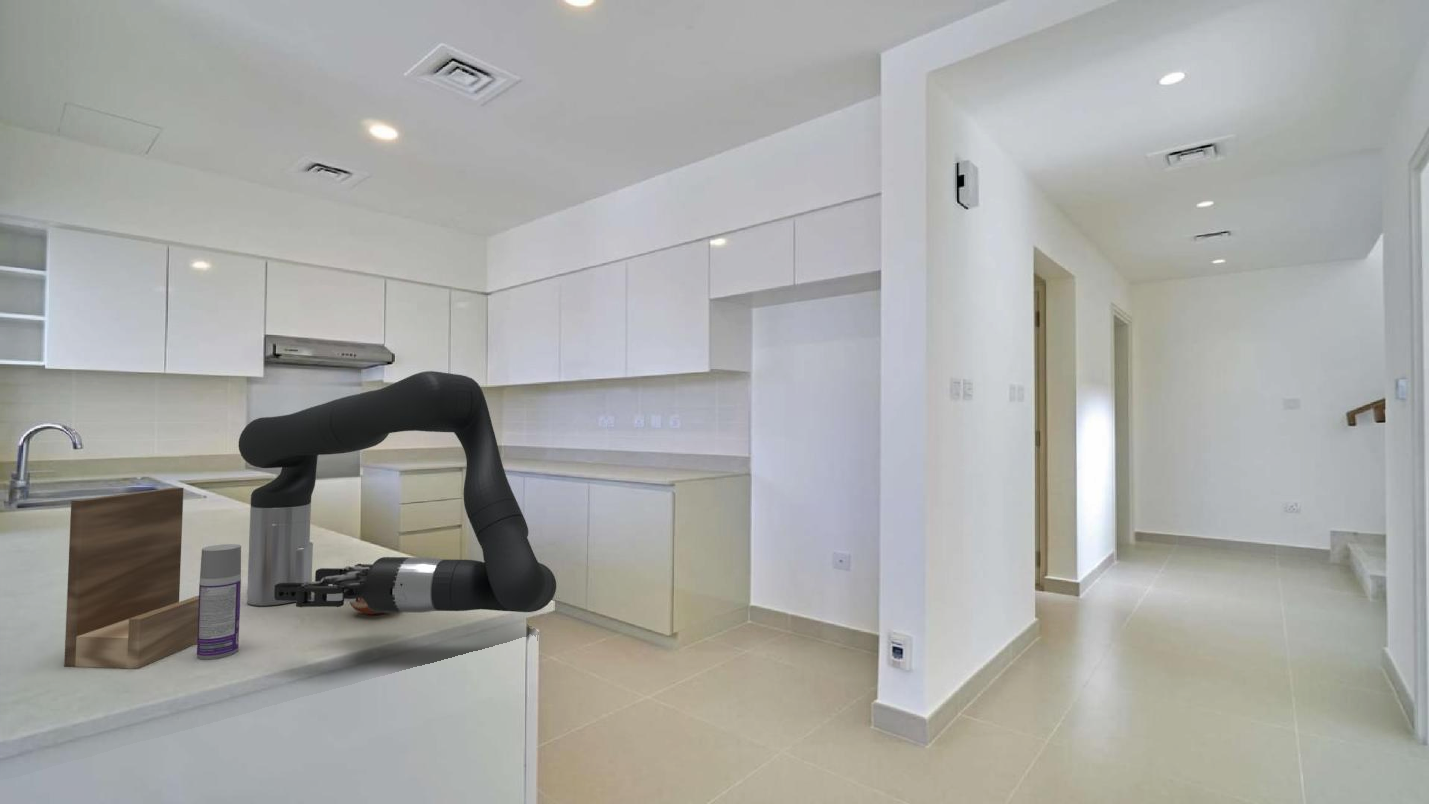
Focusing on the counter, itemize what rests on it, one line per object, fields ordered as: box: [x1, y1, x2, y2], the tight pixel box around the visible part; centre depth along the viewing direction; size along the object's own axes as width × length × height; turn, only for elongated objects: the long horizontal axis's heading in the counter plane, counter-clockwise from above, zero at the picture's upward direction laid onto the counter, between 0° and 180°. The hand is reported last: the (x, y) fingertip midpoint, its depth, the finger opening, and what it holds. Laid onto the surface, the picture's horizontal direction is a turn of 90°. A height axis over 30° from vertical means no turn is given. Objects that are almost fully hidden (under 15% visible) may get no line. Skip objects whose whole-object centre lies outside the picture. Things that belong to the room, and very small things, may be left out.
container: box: [196, 543, 242, 660], centre depth 91 cm, size 5×5×15 cm
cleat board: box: [63, 487, 199, 670], centre depth 93 cm, size 10×16×22 cm, turn 179°
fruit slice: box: [349, 598, 384, 616], centre depth 110 cm, size 8×7×5 cm
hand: (297, 583), depth 91 cm, fingers open, 8 cm apart
